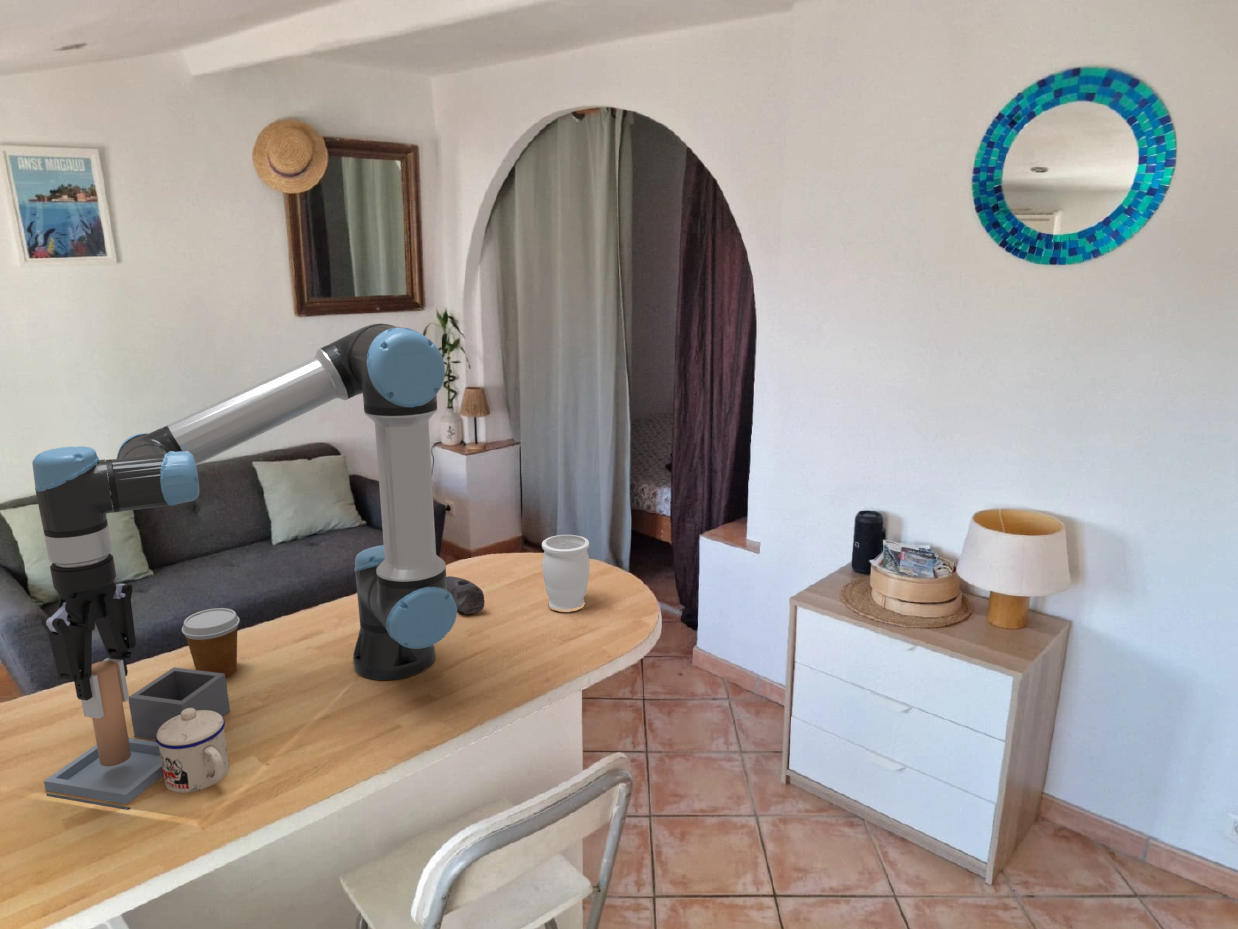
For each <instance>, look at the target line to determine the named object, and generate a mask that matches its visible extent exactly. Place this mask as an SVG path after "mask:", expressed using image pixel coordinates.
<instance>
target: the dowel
mask: <svg viewBox="0 0 1238 929" xmlns="http://www.w3.org/2000/svg"><path fill="white" fill-rule="evenodd" d="M92 675H97V677H98V683H99V689H100V694H101V700H102V706H103V712H104V716H103V717H102V718H100V719H98V718H91V720H92V725H93V731H94V736H95V742H96V745H97V749H98V754H99V760H100V764H101V765H102V766H107V767H109V766H115V765H119V764H121V763H123V762H125V761H127V760H128V759H129V758H130V756H131V751H130V745H129V739H128V738H129V735H128V728H127V723H126V716H125V711H124V704H123V703H124V702H122V697H121V691H120V685H119V679H118V673H117V667H116V663H115V662H113V661H103V660H102V661H97V662H94V663H92Z"/></svg>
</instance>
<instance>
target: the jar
mask: <svg viewBox="0 0 1238 929" xmlns="http://www.w3.org/2000/svg"><path fill="white" fill-rule="evenodd" d="M541 548H542V550H543V551H544V552H543V555H542V564H541V566H542V567H541V568H542V569H541V570H542V576H543V577H542V578H543V582H544V588H545V591H546V594H547V597H548V599H549V600H548V602H549V606H550V607H553V608H556V609H563V610H567V609H573V608H577V607H581V606H582V605H583V603H584V601H585V599H584V598H585V595H586V593H587V591H588V590H587V589H588V583H589V578H590V558H589V557H590V556H589V552H588V549H589V548H590V541H589V540H588V538H586V537H584V536H581V535H575V534H557V535H554V536H553V535H552V536H549V537H547V538H545V539H544V540H543V541H542V542H541Z"/></svg>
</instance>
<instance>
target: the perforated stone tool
mask: <svg viewBox="0 0 1238 929" xmlns="http://www.w3.org/2000/svg"><path fill="white" fill-rule="evenodd" d="M446 580H447V591H448V592H450V593H451V594H452V596H453V598H454V601H455V603H456V607H457V612H462V613H463V614H465V615H471V614H470V613H472V614H476V613H477V614H478V613H479V612H481V611H482V610H483V609H484V607H485V594H484V591H483V590H482V589H481V588H480V587H479V586H478V585H477V584H475V583H474V582H472V581H470V580H468V579H465V578H461V577H458V576H451V575H450V576H448V575H447V576H446Z"/></svg>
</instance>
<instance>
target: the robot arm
mask: <svg viewBox="0 0 1238 929" xmlns="http://www.w3.org/2000/svg"><path fill="white" fill-rule="evenodd" d="M315 353H316V354H315V356H314V357H313V358H312V359H309V360H306V361H304V362H301V364H298V365H296V366H294V367H292V368H289V369H287V370H285V371H283V372H280V373H278V374H276V375H274V376H272V377H270V378H267V379H265V380H262V381H260V382H259V383H257V384H255V385H252V386H250V387H248V388H246V389H244V390H242V391H239V392H236V393H235V394H233V395H232V394H231V395H230V396H228V397H226V398H223V399H221V400H219V401H217V402H215V403H213V404H211V405H208V406H206V407H204V408H201V409H200V410H198V411H194V412H193V413H191V414H189V415H187V416H184V417H183V418H180V419H177V420H176V421H174V422H171V423H169V424H167V425H165V426H163V427H160V428H158V429H156V430H154V431H151V432H148V433H146V432H145V433H137V434H134V435H131V436H129V437H127V438H126V439H125V440H124V441H123V442H122V443H121V445H120V447H119V449H118V452H117V454H116V458H112V459H100V457H99V456H98V455H97V451H96V449H94V448H93V447H89V446H65V447H64V446H63V447H58V448H52V449H49V450H44V451H41V452H40V453H38V454H37V455H36V456H35V457H34V458H33V459H32V472H33V479H34V480H33V481H34V490H35V495H36V500H37V506H38V511H39V515H40V516H39V517H40V520H41V524H42V525H41V526H42V529H43V530H42V531H43V534H44V535H43V536H44V541H45V546H46V552H47V557H48V560H49V562H51V565H50V566H49V569H50V574H51V581H52V586H53V588H54V590H55V591H56V593H57V594H58V596H59V600H58V604H57V611H56V612H54V613H53V615H51V616H45V617H43V618H42V620H41V625H42V626H43V628H44V629H45V631H46V632H47V635H48V637H49V641H50V642H49V643H50V647H51V652H52V655H53V660H54V665H55V668H56V671H57V672H56V673H57V676H58V679H59V681H68V682H74V686H75V687H74V688H75V693H76V697H77V699H78V700H81V707H82V710H83V711H82V712H83V717H86V718H91V719H92V718H98V719H100V718H102V717H103V716H104V712H103V706H102V700H101V694H100V689H99V683H98V677H97V675H92V664H93V663H92V658H93V656H92V654H93V652H92V650H93V645H92V644H93V632H94V630H95V629H96V628H97V632H98V634H99V636H100V639H101V642H102V644H103V647H104V648H105V649H104V650H105V651H106V654H107V656H108V657H107V658H105V659H103V660H102V661H113V662H115V663H116V667H117V673H118V679H119V685H120V691H121V697H122V703H126V702H129V701H128V700H129V696H130V695H129V689H128V684H127V678H126V676H127V677H128V673H129V671H128V666H127V660H128V659H130V658H131V657H132V654H133V653H132V651H130V650H131V649H134V648H135V647H136V645H137V640H136V633H135V631H136V630H135V624H134V616H133V615H134V614H133V609H132V608H133V606H132V595H133V594H132V593H133V589H134V588H133V585H132V584H128V583H127V584H126V583H118V582H115V580H116V578H117V571H116V565H115V559H114V556H113V555H112V554H111V552H112V551H113V546H112V541H111V535H110V530H109V524H108V518H107V516H108V515H107V514H114V513H120V512H129V511H135V510H143V509H150V508H151V509H152V508H158V507H159V508H160V507H167V506H177V505H181V504H185V503H189V502H194V501H196V500H197V499H198V498H199V496H200V484H199V483H200V482H199V474H198V473H199V472H198V468H197V465H199V464H201V463H204V462H205V461H208V460H211V459H212V458H214V457H217V456H219V455H221V454H223V453H224V452H227V451H229V450H231V449H232V448H234V447H237V446H239V445H241V444H243V443H246V442H248V441H249V440H253V439H254V438H256V437H257V436H260V435H262V434H265V433H266V432H268V431H271V430H273V429H274V428H277V427H279V426H281V425H283V424H285V423H287V422H289V421H292V420H294V419H296V418H297V417H300V416H302V415H304V414H306V413H308V412H310V411H313V410H315V409H317V408H319V407H320V406H323V405H325V404H327V403H328V402H331V401H333V400H335V399H339V400H343V401H347V400H349V399H351V398H354V397H356V396H358V395H361V394H362V399H363V400H362V402H363V412H364V414H365V416H367V417H368V418H369V419H370V420H372V421H373V423H374V429H375V430H374V431H375V444H376V457H377V470H378V484H379V497H380V498H379V499H380V500H379V501H380V514H381V527H382V538H383V539H382V540H383V544H382V545H381V544H380V545H376V546H372V547H368V548H366V549H363V550H362V551H359V553H358V554H356V556H355V558H354V570H353V571H354V572H355V583H356V593H357V594H356V595H357V604H358V606H357V607H358V616H359V627H360V628H359V631H358V635H357V638H356V643H355V647H354V650H353V656H352V659H353V668H354V670H355V672H356V673H357V674H358V675H359V676H361V677H364V678H366V679H370V680H376V681H392V680H400V679H404V678H409V677H411V676H415V675H417V674H419V673H422V672H423V671H425V670H427V669H429V667H431V666H432V664H433V663H434V661H435V659H436V651H435V649H436V648H435V645H437V643H439V642H440V641H442V640H443V639H444V638H445V637H446V635H447V634H448V633H450V631H451V630H452V628H453V626H454V625H455V623H456V619H457V615H458V611H457V607H456V603H455V601H454V598H453V596H452V594H451V593H450V592H448V591H447V580H446V577H447V569H446V568H447V567H446V562H445V560H444V559H442V558H441V557H440V556H438V555H437V549H436V547H437V546H436V544H437V543H436V531H435V530H436V529H435V516H434V514H435V513H434V512H435V511H434V495H433V494H434V493H433V477H432V458H431V439H430V437H431V436H430V419H431V418H433V415H434V414H436V412H437V411H438V395H437V394H438V393H439V391H441V389H442V386H443V384H444V382H445V381H444V380H445V377H446V376H445V375H446V366H445V362H444V358H443V355H442V354H441V352H440V349H439V348H438V347H437V346H436V344H435V343H434V342H433V341H432V340H431V339H429V338H428V337H427V336H425V335H423V333H421V332H419V331H417V330H415V329H412V328H408V327H401V326H395V325H393V324H388V323H387V324H386V323H372V324H369V325H365V326H363V327H361V328H359V329H356V330H355V331H353V332H350V333H349V334H347V335H345V336H342V337H341V338H339V339H337V340H335V341H332V342H331V343H329V344H327V345H325V346H322V347H319V348H318V349H317V350H316V352H315Z"/></svg>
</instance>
